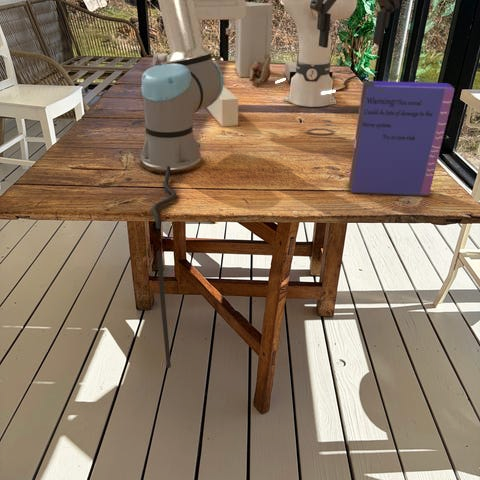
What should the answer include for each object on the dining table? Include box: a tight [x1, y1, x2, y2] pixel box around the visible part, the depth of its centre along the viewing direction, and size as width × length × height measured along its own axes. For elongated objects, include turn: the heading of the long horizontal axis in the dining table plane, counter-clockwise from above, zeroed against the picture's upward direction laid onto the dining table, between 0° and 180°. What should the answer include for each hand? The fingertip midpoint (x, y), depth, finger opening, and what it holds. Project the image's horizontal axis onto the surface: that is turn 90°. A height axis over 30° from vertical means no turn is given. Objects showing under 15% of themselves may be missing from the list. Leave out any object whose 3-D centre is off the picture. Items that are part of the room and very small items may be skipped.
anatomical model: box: [249, 55, 272, 87], centre depth 197 cm, size 13×9×15 cm
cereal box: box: [348, 80, 455, 197], centre depth 104 cm, size 17×5×24 cm, turn 86°
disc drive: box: [284, 61, 333, 85], centre depth 207 cm, size 18×22×5 cm
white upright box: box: [234, 1, 274, 78], centre depth 210 cm, size 19×15×28 cm
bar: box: [205, 85, 239, 128], centre depth 157 cm, size 22×5×8 cm, turn 17°
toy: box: [152, 51, 219, 67], centre depth 222 cm, size 24×25×7 cm
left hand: (350, 45), depth 105 cm, fingers open, 13 cm apart
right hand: (214, 35), depth 153 cm, fingers open, 8 cm apart
